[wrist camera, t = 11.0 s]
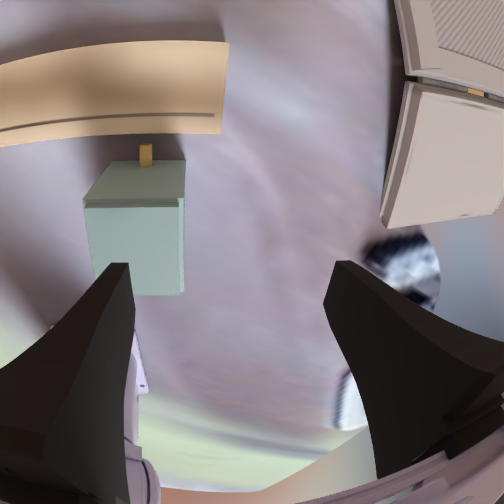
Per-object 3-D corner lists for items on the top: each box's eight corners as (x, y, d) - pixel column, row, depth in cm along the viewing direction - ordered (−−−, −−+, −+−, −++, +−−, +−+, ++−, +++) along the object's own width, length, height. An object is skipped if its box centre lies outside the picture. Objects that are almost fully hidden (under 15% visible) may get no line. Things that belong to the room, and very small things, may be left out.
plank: (218, 128, 17) (220, 134, 15) (-65, 157, 12) (-79, 165, 11) (226, 45, 14) (229, 42, 13) (-70, 94, 10) (-85, 99, 8)
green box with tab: (184, 233, 20) (184, 298, 15) (118, 233, 19) (96, 297, 14) (186, 140, 17) (184, 174, 12) (112, 141, 16) (75, 177, 11)
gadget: (487, 207, 25) (511, 224, 22) (374, 221, 23) (398, 245, 20) (501, -6, 13) (530, -4, 10) (373, -65, 11) (402, -78, 8)
